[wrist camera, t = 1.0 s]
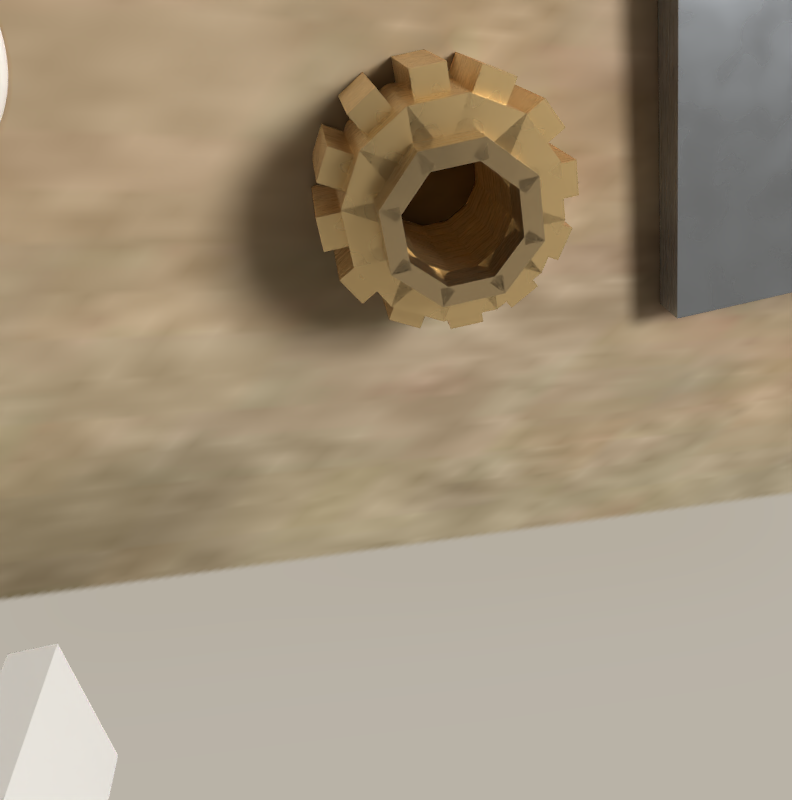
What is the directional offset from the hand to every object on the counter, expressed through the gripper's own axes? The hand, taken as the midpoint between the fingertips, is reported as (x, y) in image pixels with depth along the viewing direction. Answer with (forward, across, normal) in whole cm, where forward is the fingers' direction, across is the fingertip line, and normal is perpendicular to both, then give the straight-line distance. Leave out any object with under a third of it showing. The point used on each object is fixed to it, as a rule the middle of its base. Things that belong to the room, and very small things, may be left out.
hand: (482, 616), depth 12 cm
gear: (+18, +2, +3) cm, 19 cm away
